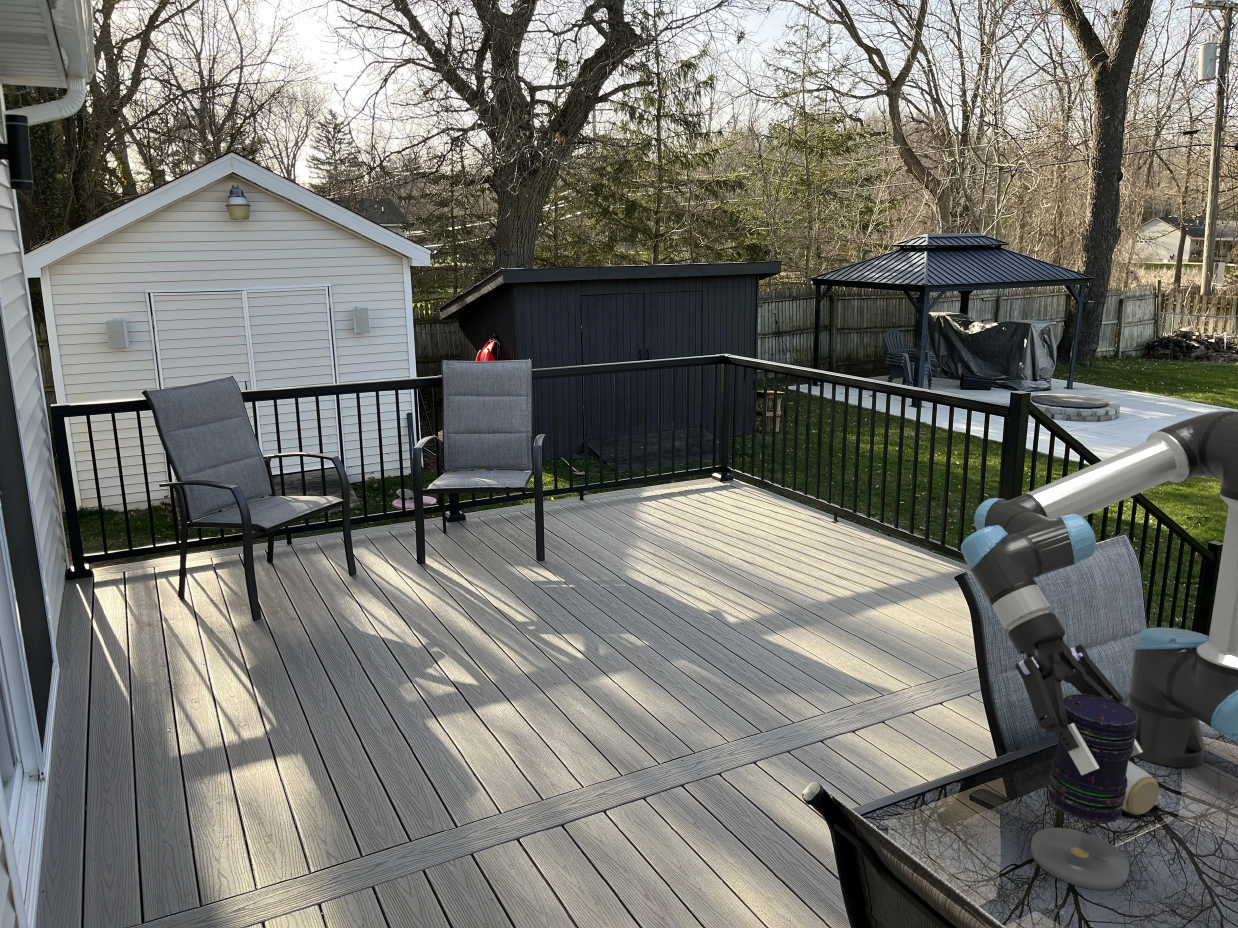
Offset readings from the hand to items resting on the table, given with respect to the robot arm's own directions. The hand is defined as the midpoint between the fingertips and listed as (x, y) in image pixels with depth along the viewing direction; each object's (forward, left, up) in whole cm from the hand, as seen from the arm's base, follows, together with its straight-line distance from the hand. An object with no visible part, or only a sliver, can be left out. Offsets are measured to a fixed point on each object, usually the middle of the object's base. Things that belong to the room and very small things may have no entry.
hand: (1112, 763), depth 131 cm
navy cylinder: (+3, -2, -8) cm, 9 cm away
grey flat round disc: (+2, -2, -17) cm, 18 cm away
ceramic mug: (-6, -25, -18) cm, 31 cm away
